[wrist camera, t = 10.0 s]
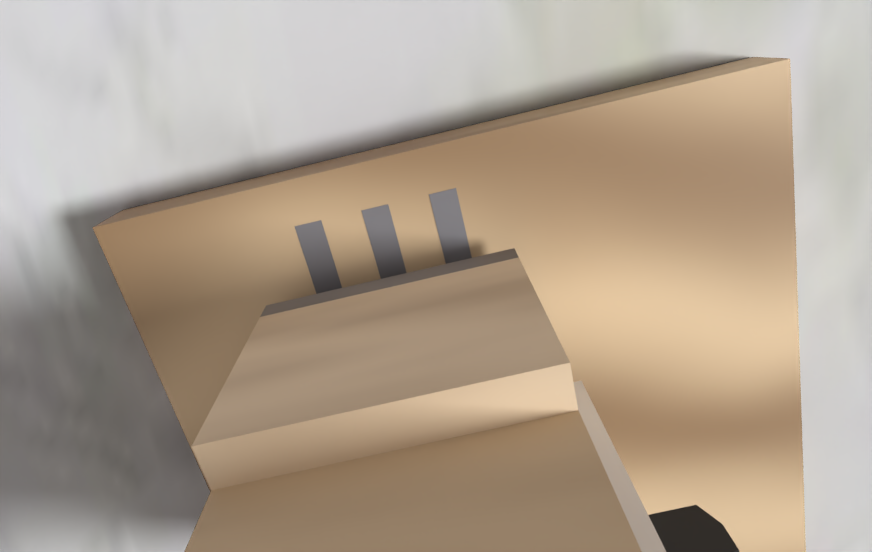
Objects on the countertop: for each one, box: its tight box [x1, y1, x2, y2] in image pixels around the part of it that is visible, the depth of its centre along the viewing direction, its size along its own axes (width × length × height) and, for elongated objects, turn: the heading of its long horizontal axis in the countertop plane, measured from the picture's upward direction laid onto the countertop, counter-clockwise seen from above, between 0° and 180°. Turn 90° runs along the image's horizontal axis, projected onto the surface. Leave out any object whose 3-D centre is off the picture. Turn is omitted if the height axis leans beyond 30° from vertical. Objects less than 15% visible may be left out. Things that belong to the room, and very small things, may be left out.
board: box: [93, 57, 806, 552], centre depth 17 cm, size 16×15×2 cm
